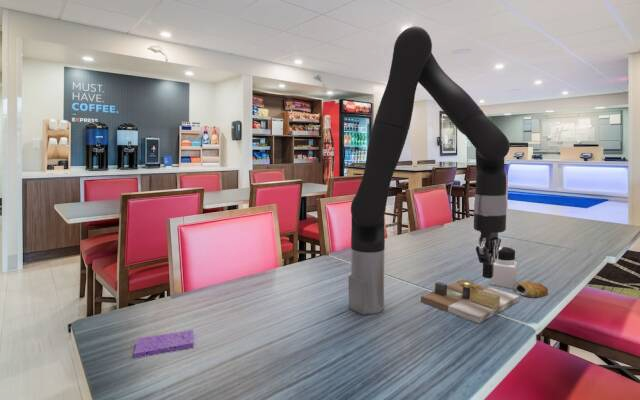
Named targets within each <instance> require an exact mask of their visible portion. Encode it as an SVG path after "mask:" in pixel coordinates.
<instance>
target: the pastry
mask: <svg viewBox="0 0 640 400" xmlns="http://www.w3.org/2000/svg"><path fill="white" fill-rule="evenodd" d="M513 290H514V292H515V293H516V294H519V295H520V296H521V295H522V297H523V296H524V297H525V298H535V297H537V298H540V297H543V296H547V294H548V291H549V288H548V287H547V286H545V285H543V284H542V283H537V282H535V281H534V282H533V281H529V280H526V281H519V282H516V283H515V287H514V288H513Z"/></svg>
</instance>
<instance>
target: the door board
mask: <svg viewBox="0 0 640 400" xmlns="http://www.w3.org/2000/svg"><path fill="white" fill-rule="evenodd" d="M460 281H461V280H459V281H456V282H453V283H451V284H447V283H446V284H445V283H443V282H440V281H439V282H438V281H437V282H435V283H434V291H430V292H429V293H426V294H423V295H421V296H420V302H421V303H424V304H426V305H429V306H432V307H435V308H437V309H440V310H443V311H444V312H447V313H450V314H453V315H456V316H458V317H460V318H463V319H466V320H469V321H472V322H475V323H477V324H481V323H482V322H484V321H486V320H487V319H490V318H491V317H493V316H495V315H497V314H499V313H500V312H502V311H504V310H506V309H507V308H509V307H511V306H513V305H515V304H516V303H519V301H520V296H519V295H517V294H514V293H510V292H506V291H504V290H500V289H496V288H493V287H490V286H486V285H482V284H479V283H476V282H474V284H477V285H478V289H479V290H483V291H486V292H489V293H492V294H496V295H499V296H500V305H499V306H498V307H496V308H492V307H489V306H486V305H483V304H480V303H477V302H474V301H471V300H470V291H471V288H464V287H461V286H460Z"/></svg>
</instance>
